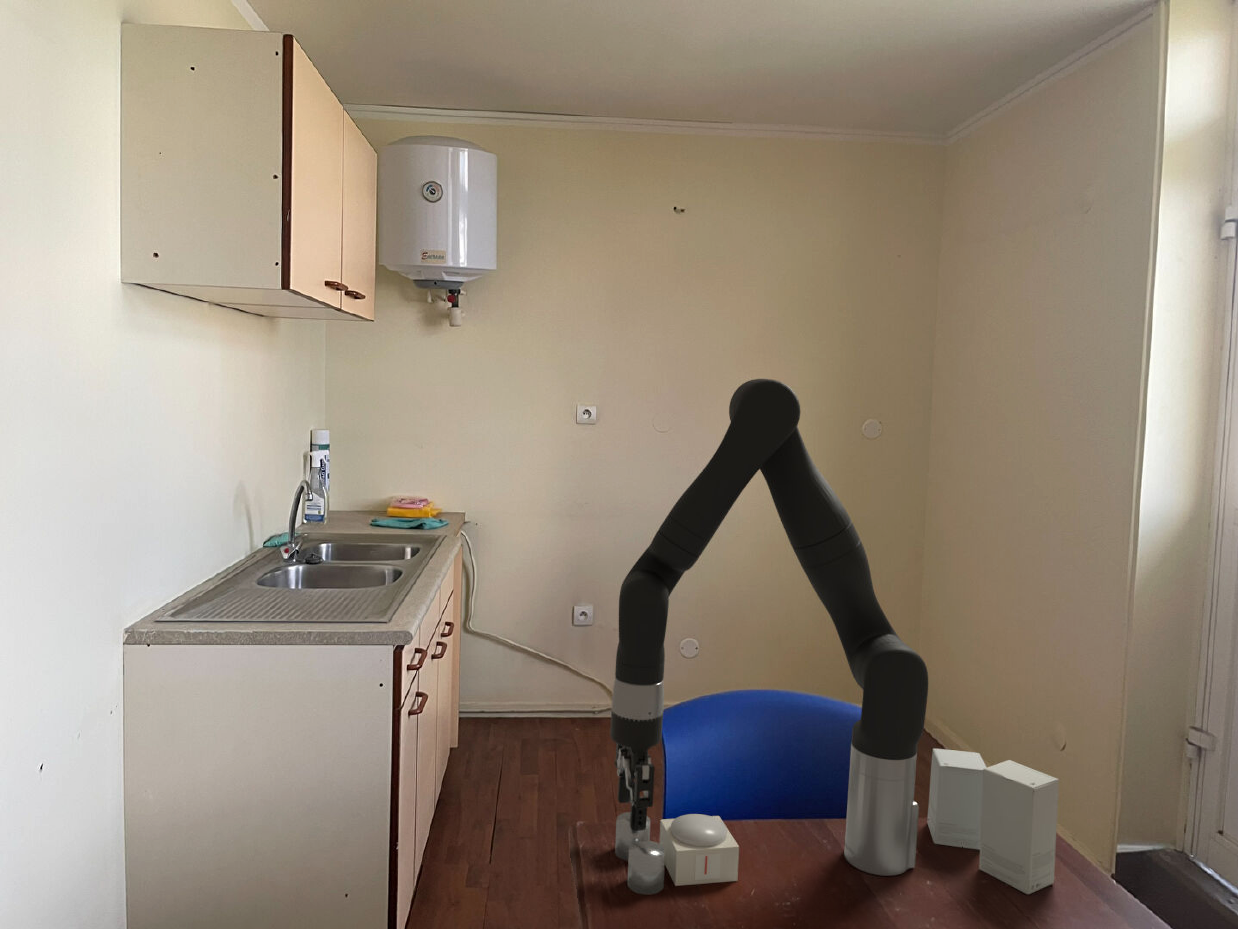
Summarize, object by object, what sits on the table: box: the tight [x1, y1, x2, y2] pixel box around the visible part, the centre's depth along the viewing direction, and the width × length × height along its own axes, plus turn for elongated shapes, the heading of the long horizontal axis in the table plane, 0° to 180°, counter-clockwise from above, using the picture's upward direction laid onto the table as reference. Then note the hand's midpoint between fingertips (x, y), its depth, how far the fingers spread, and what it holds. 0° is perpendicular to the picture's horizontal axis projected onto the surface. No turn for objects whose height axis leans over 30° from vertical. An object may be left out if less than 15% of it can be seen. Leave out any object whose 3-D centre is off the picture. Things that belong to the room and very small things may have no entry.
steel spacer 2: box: [627, 840, 666, 896], centre depth 123 cm, size 5×5×5 cm
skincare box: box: [978, 759, 1060, 895], centre depth 128 cm, size 8×7×16 cm
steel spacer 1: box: [614, 811, 651, 862], centre depth 131 cm, size 5×5×5 cm
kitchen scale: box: [659, 813, 740, 887], centre depth 128 cm, size 9×9×6 cm
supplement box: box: [926, 748, 987, 851], centre depth 140 cm, size 7×7×13 cm
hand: (631, 815), depth 131 cm, fingers open, 8 cm apart
